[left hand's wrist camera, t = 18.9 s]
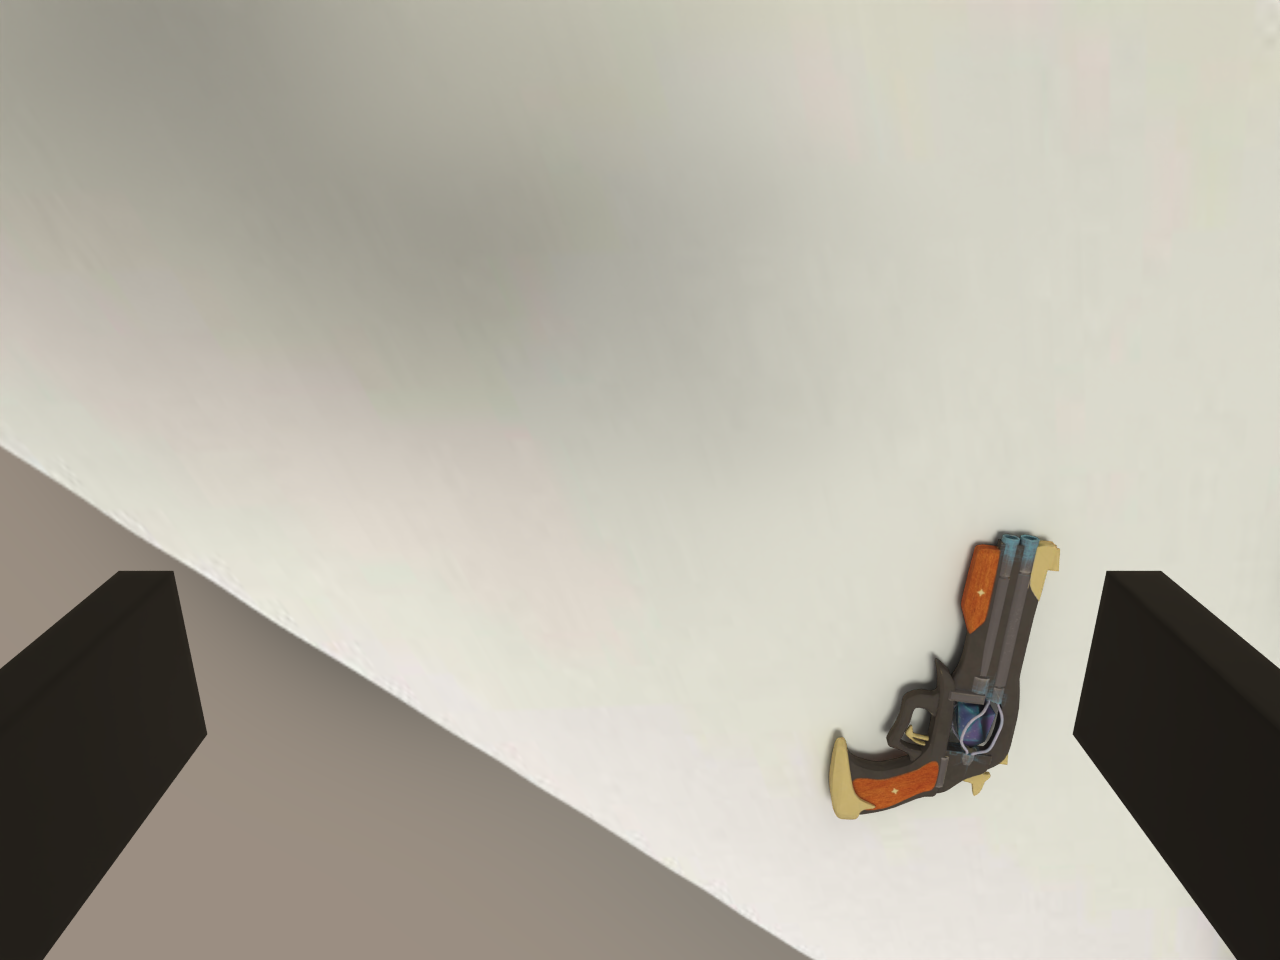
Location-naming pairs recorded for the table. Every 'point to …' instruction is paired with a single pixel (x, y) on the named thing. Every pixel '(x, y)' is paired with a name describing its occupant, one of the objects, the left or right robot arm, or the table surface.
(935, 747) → the toy gun
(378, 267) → the table surface
